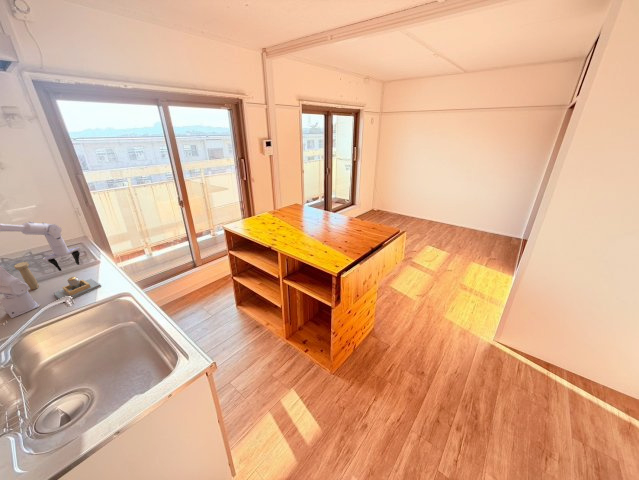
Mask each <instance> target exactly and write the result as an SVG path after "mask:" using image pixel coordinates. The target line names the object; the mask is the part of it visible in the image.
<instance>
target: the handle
mask: <svg viewBox="0 0 639 480" xmlns="http://www.w3.org/2000/svg"><path fill="white" fill-rule="evenodd" d="M29 266H30V264H29V263H28V262H27V261H22V262H18V263H16V264H15V265H13V267H14V269H15V270H18V271H19V273H20V275H21V277H22V279H23V282H25V283H27V284H28V286H29V290H33V291H34V290H36V289H39V287H40V286H39V284H38V283H39V282H38V281H37V279H36V277H35V276H34V274H33V273H32V271H31V270H30V269H29Z"/></svg>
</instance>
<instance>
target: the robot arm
mask: <svg viewBox="0 0 639 480" xmlns="http://www.w3.org/2000/svg"><path fill="white" fill-rule="evenodd" d="M0 232H21V233H22V234H24V235H35V236H36V235H38V236H42V235H43V236H44V237H45V239H46V241H47V243H48V245H49V247H50V249H51V250H52V254H50V255H47V256H45V257H43V258H42V259H43V261H44V262H45V263H46V262H47V263H50V264H51V265H53V266H54V267H55V268H56V269H57V270H58V271H59V272H62V271H63V270H62V268H61V267H60V265H59V263H58V261H57V258H61V257H62V258H63V257H65V256H67V255H70V254H71V255H72V257H73V259H74V262H75V263H76V264H77V265H80V252H81V251H82V250H81V247H79V246H77V247H73V248H68V246H67V244H66V242H65V240H64V238H63V236H62V233H61V232H62V227H60V226H59V225H57V224H56V223H55V224H54V223H47V222H41V223H40V222H39V223H38V222H35V221H28V222H24V223H22V224H13V223H12V224H10V223H0ZM29 289H30V287H29V286H28V284H27V283H26V282H25V281H21V280H20V279H19V278H18V277H15V276H13V275H11V274H10V273H9V272H8V271H7V270H6V269H5V268H3V266H1V265H0V294H3V298H1V299H0V305H1V306H2V308H4V312H5V314H8V316H9V317H10V319H11V318H12V319H13V318H17V317H18V316H20V315H23V314H26V313H28V312H30V311H32V310H35V309H37V308H40V304H38V303H37V302H36V301H35V300H34V299H33V296H31V293H30V291H29Z"/></svg>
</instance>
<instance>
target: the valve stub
mask: <svg viewBox="0 0 639 480" xmlns="http://www.w3.org/2000/svg"><path fill="white" fill-rule="evenodd" d="M79 281H80V279H79V278H78V277H77V276H72V277H69V278H68V279H67V283H68V285H70V287H71V289H72V290H74V289H77V288H79V287H82V286H81V284H80V282H79Z"/></svg>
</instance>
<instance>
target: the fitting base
mask: <svg viewBox="0 0 639 480" xmlns="http://www.w3.org/2000/svg"><path fill="white" fill-rule="evenodd" d="M79 282H80V284H81V286H82V287H79V288H77V289H74V290H72V289H71V287H70V285H69V284H68V285H65V286H63V287H62V289H61V290H58V291H56V292H54V293H53V295H54V296H55V297H56V298H57V299H59V298H62V297H65V296H71V297H73V299H76V298H78V297H80V296H82V295H84V294H86V293H89V292H91V291H94V290H96V289H98V288H101V287H102V285H101V284H100V283H99V282H97V281H96V280H95V279H92V278H89V279H88V278H87V279H86V280H84V279H81V280H80V279H79ZM100 286H101V287H100Z"/></svg>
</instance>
